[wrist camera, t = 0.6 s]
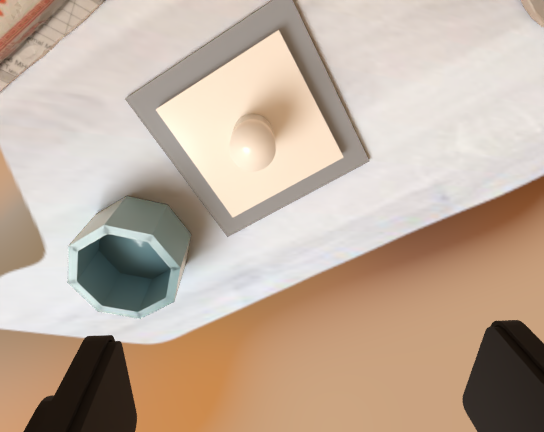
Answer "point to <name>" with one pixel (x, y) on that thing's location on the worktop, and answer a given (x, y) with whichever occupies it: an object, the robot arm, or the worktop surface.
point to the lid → (252, 126)
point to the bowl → (129, 258)
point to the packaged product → (35, 30)
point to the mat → (217, 54)
